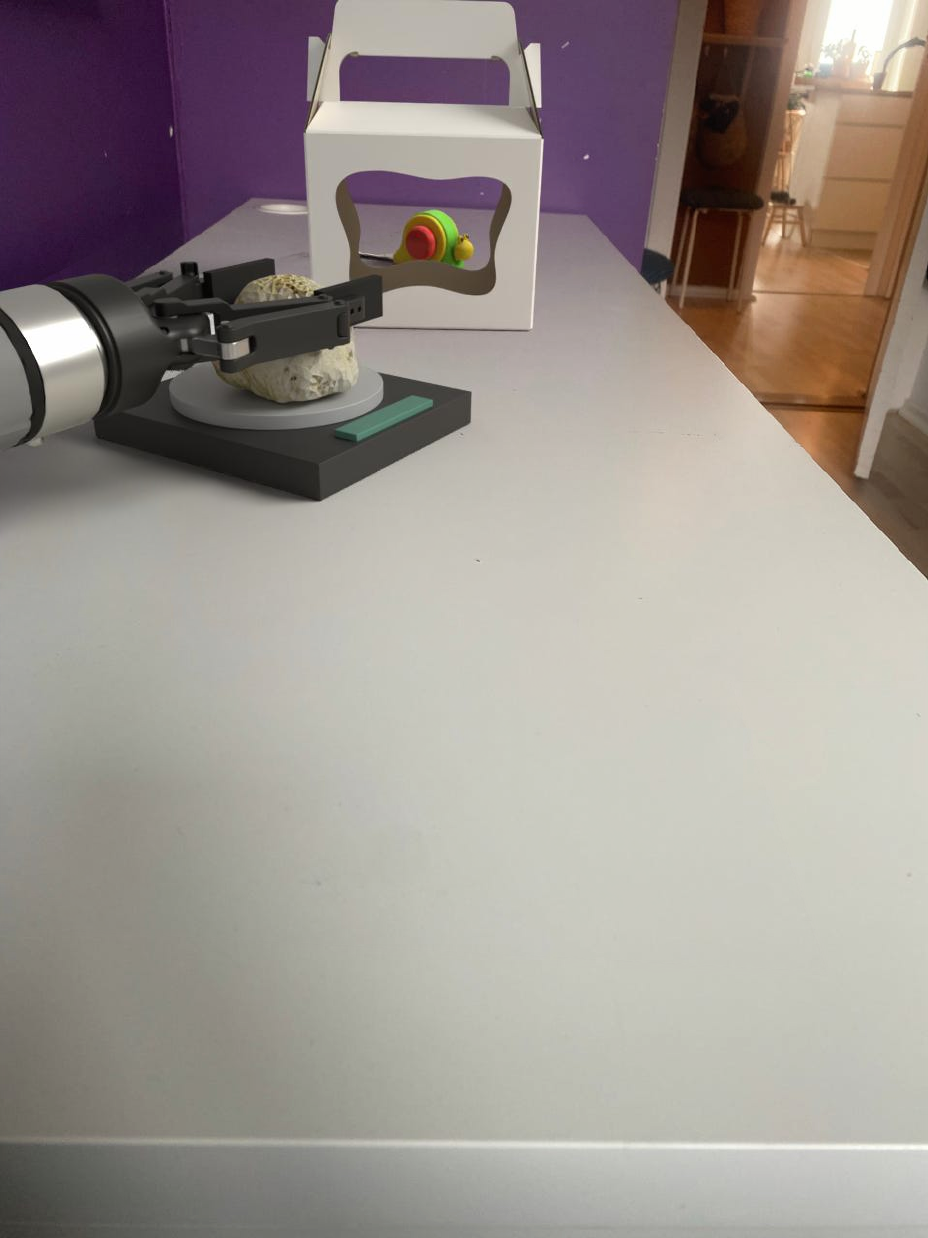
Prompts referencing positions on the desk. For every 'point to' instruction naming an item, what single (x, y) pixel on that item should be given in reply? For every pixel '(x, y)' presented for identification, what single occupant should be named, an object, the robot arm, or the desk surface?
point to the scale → (290, 428)
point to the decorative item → (295, 373)
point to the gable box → (427, 159)
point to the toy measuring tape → (431, 241)
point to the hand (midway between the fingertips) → (323, 286)
